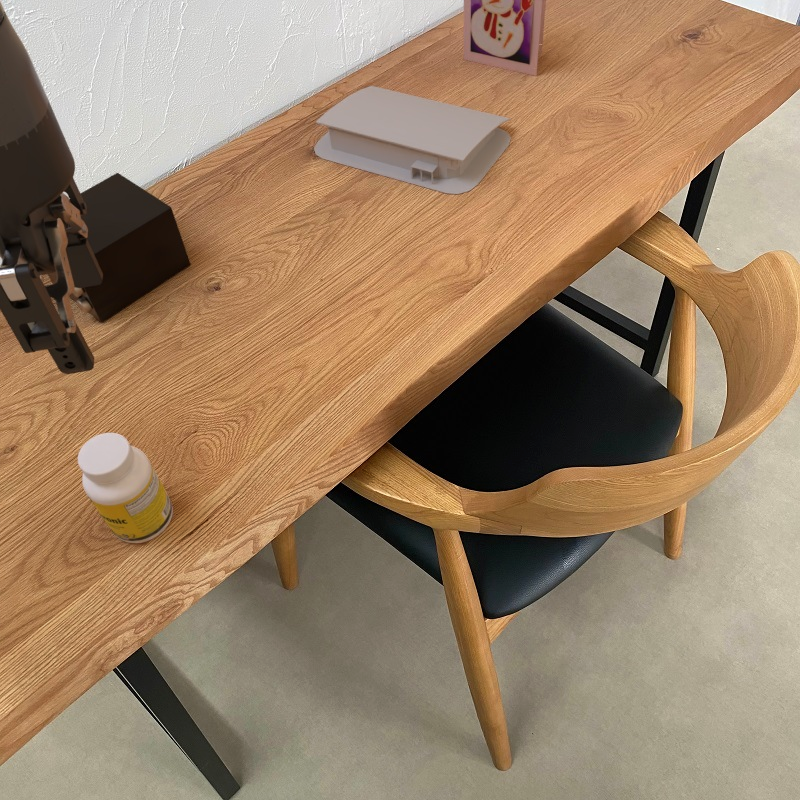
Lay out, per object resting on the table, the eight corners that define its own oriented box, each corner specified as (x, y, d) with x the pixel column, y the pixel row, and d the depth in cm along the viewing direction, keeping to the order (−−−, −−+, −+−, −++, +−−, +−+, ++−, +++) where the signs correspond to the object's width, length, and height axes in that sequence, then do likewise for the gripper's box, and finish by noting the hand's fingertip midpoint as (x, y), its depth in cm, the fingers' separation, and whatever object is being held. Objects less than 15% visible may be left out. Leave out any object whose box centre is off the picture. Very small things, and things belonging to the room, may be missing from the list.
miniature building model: (466, 199, 94) (466, 170, 91) (305, 153, 102) (300, 126, 99) (518, 132, 102) (520, 104, 99) (365, 95, 110) (363, 68, 107)
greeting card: (460, 62, 115) (460, -49, 103) (483, 39, 119) (486, -71, 107) (533, 78, 111) (542, -36, 99) (555, 54, 115) (565, -58, 103)
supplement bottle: (99, 520, 69) (54, 454, 61) (150, 480, 71) (113, 412, 63) (135, 557, 66) (93, 493, 59) (187, 515, 69) (153, 448, 61)
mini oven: (95, 327, 84) (66, 270, 78) (45, 287, 89) (14, 229, 83) (191, 265, 90) (171, 206, 83) (140, 229, 94) (117, 172, 88)
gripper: (-69, 58, 47) (42, 266, 60) (-129, 200, 38) (16, 411, 51) (59, 41, 48) (142, 251, 60) (29, 177, 39) (134, 391, 51)
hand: (84, 324), depth 56 cm, fingers open, 8 cm apart
